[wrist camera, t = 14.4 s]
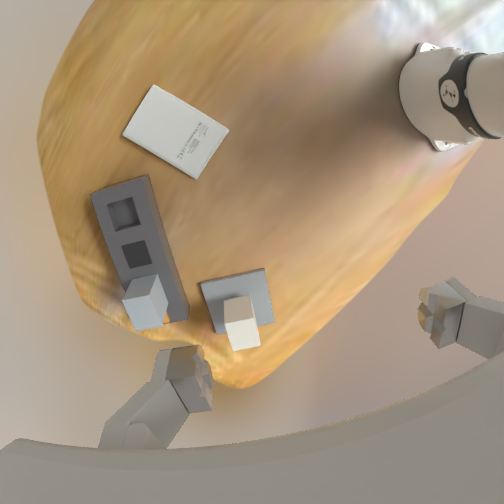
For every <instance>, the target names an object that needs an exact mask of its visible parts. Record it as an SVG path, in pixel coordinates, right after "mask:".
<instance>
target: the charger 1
mask: <svg viewBox="0 0 504 504" xmlns="http://www.w3.org/2000/svg"><path fill="white" fill-rule="evenodd" d="M122 302H123V305H124V307H125V309H126V311H127V313H128V316H129V318H130V320H131V322H132V324H133V326H134V328H135V330H136V331H140V330H146V329H152V328H157V327H162V326H163V322H164V318H165V314H166V310H167V307H168V301H167V298H166V295H165V293H164V290H163V287H162V285H161V282H160V279H159V276H158V274H154V275H150V276H145V277H141V278H136V279H133V280H132V282H131V283H130V285H129V287H128V289H127V291H126V293H125V295H124V297H123V299H122Z"/></svg>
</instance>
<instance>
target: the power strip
mask: <svg viewBox="0 0 504 504" xmlns="http://www.w3.org/2000/svg"><path fill="white" fill-rule="evenodd" d="M90 197H91V200H92V203H93V206H94V209H95V212H96V216H97V219H98V222H99V225H100V227H101V230H102V233H103V236H104V239H105V242H106V244H107V247H108V250H109V253H110V255H111V258H112V261H113V263H114V266H115V268H116V271H117V273H118V276H119V278H120V281H121V283H122V286H123V288H124V290H125V293H126V291H127V289H128V287H129V285H130V283H131V282H132V280H133V279H136V278H141V277H145V276H150V275H154V274H158V276H159V279H160V282H161V285H162V287H163V290H164V293H165V295H166V298H167V301H168V307H167V310H166V314H165V318H164V322H163V324H166V323H172V322H177V321H182V320H188V316H189V309H190V306H189V303H188V300H187V297H186V294H185V292H184V289H183V286H182V283H181V280H180V277H179V274H178V271H177V268H176V265H175V262H174V259H173V256H172V253H171V250H170V246H169V243H168V240H167V237H166V234H165V230H164V227H163V224H162V220H161V217H160V214H159V210H158V207H157V203H156V200H155V196H154V193H153V189H152V186H151V182H150V178H149V175H148V174H147V175H144V176H140V177H137V178H134V179H130V180H127V181H124V182H121V183H118V184H114V185H111V186H108V187H105V188H102V189H99V190H98V191H96V192H94V193H92V194H91V195H90Z"/></svg>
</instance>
